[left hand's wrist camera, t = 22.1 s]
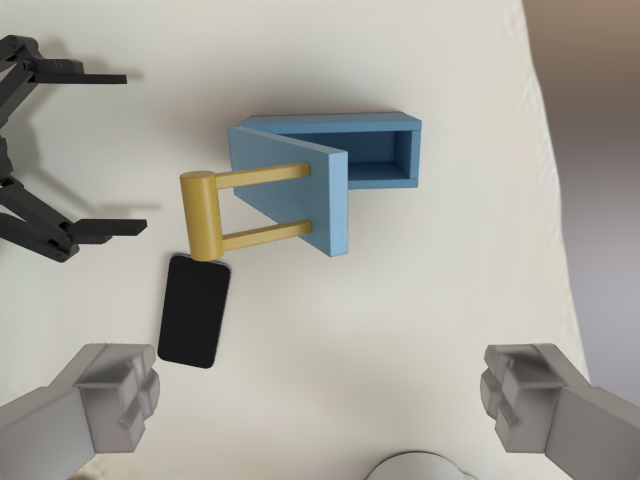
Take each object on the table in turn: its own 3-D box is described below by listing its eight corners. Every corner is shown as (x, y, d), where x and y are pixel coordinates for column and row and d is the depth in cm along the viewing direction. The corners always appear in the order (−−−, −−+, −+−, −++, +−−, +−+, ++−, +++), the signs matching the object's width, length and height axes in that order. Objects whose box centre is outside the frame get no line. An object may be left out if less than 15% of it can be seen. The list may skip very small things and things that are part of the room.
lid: (347, 151, 22) (189, 170, 19) (348, 253, 24) (205, 288, 21) (241, 125, 36) (136, 134, 32) (247, 193, 38) (149, 208, 34)
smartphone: (232, 267, 50) (212, 370, 55) (233, 265, 51) (213, 367, 56) (170, 253, 50) (155, 359, 55) (172, 251, 50) (157, 355, 55)
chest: (402, 111, 45) (421, 120, 36) (399, 167, 47) (418, 187, 38) (251, 116, 45) (235, 125, 36) (256, 170, 47) (241, 192, 38)
